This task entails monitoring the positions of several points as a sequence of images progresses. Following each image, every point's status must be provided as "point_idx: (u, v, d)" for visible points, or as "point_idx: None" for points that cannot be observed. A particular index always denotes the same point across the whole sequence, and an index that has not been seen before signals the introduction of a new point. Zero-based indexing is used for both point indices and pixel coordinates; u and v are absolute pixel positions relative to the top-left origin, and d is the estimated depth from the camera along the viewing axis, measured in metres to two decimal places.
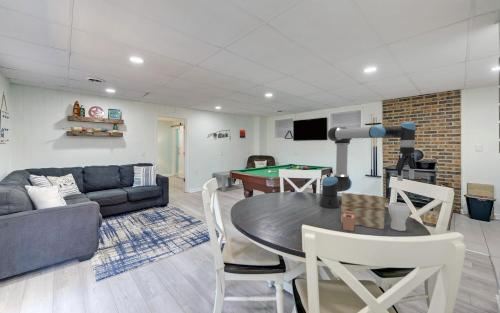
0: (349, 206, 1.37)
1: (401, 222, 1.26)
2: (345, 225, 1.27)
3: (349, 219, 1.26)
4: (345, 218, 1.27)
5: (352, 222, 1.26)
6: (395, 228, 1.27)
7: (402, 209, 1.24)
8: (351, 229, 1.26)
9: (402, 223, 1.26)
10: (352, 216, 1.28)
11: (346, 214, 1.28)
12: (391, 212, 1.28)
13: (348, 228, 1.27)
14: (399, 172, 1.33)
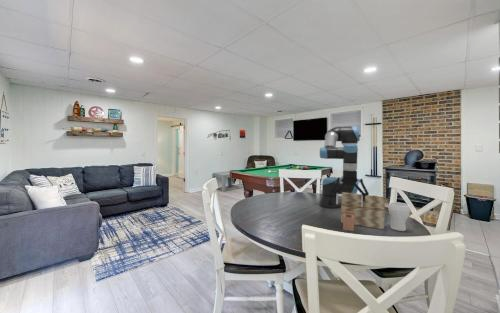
0: (349, 206, 1.37)
1: (401, 222, 1.26)
2: (345, 225, 1.27)
3: (349, 219, 1.26)
4: (345, 218, 1.27)
5: (352, 222, 1.26)
6: (395, 228, 1.27)
7: (402, 209, 1.24)
8: (351, 229, 1.26)
9: (402, 223, 1.26)
10: (352, 216, 1.28)
11: (346, 214, 1.28)
12: (391, 212, 1.28)
13: (348, 228, 1.27)
14: (334, 194, 1.32)
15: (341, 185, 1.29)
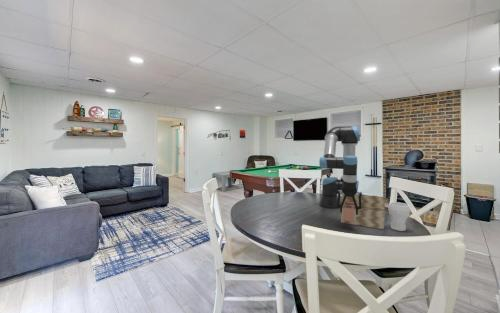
0: None
1: (401, 222, 1.26)
2: (346, 216, 1.28)
3: (349, 210, 1.27)
4: (345, 209, 1.28)
5: (352, 213, 1.26)
6: (395, 228, 1.27)
7: (402, 209, 1.24)
8: (351, 219, 1.27)
9: (402, 223, 1.26)
10: (352, 207, 1.28)
11: (346, 205, 1.28)
12: (391, 212, 1.28)
13: (348, 219, 1.27)
14: (340, 209, 1.32)
15: (343, 198, 1.29)
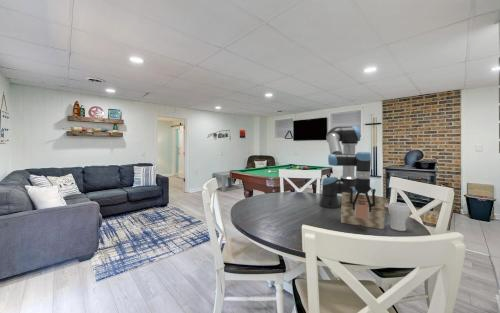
0: (349, 206, 1.37)
1: (401, 222, 1.26)
2: (359, 213, 1.25)
3: (363, 207, 1.24)
4: (358, 206, 1.25)
5: (366, 210, 1.24)
6: (395, 228, 1.27)
7: (402, 209, 1.24)
8: (365, 217, 1.24)
9: (402, 223, 1.26)
10: (365, 204, 1.26)
11: (359, 202, 1.26)
12: (391, 212, 1.28)
13: (361, 216, 1.25)
14: (353, 206, 1.29)
15: (356, 195, 1.27)
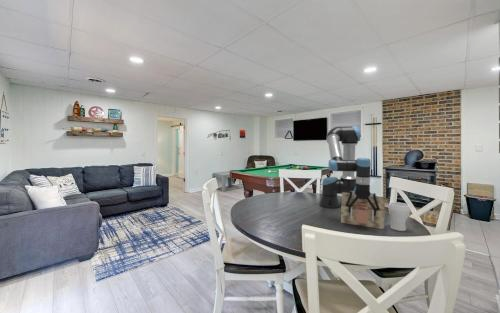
0: None
1: (401, 222, 1.26)
2: (359, 218, 1.28)
3: (363, 212, 1.27)
4: (358, 211, 1.28)
5: (366, 215, 1.26)
6: (395, 228, 1.27)
7: (402, 209, 1.24)
8: (365, 222, 1.27)
9: (402, 223, 1.26)
10: (365, 209, 1.28)
11: (359, 207, 1.28)
12: (391, 212, 1.28)
13: (361, 221, 1.27)
14: None
15: (354, 199, 1.30)
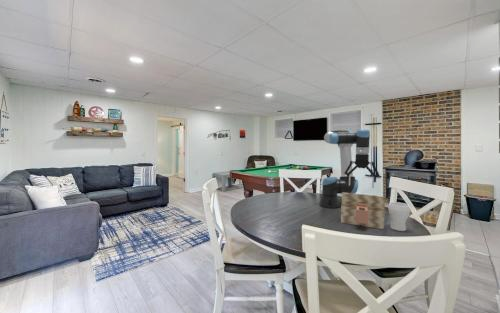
0: (349, 206, 1.37)
1: (401, 222, 1.26)
2: (359, 218, 1.28)
3: (363, 212, 1.27)
4: (358, 211, 1.28)
5: (366, 215, 1.26)
6: (395, 228, 1.27)
7: (402, 209, 1.24)
8: (365, 222, 1.27)
9: (402, 223, 1.26)
10: (365, 209, 1.28)
11: (359, 207, 1.28)
12: (391, 212, 1.28)
13: (361, 221, 1.27)
14: (347, 177, 1.42)
15: (353, 168, 1.39)
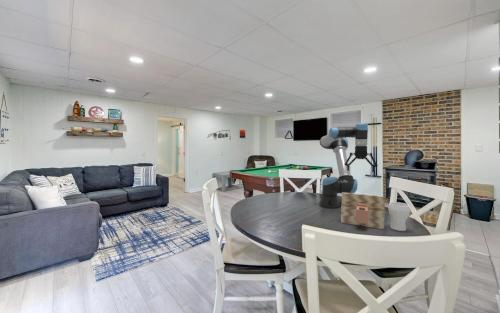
0: (349, 206, 1.37)
1: (401, 222, 1.26)
2: (359, 218, 1.28)
3: (363, 212, 1.27)
4: (358, 211, 1.28)
5: (366, 215, 1.26)
6: (395, 228, 1.27)
7: (402, 209, 1.24)
8: (365, 222, 1.27)
9: (402, 223, 1.26)
10: (365, 209, 1.28)
11: (359, 207, 1.28)
12: (391, 212, 1.28)
13: (361, 221, 1.27)
14: None
15: (353, 159, 1.49)
